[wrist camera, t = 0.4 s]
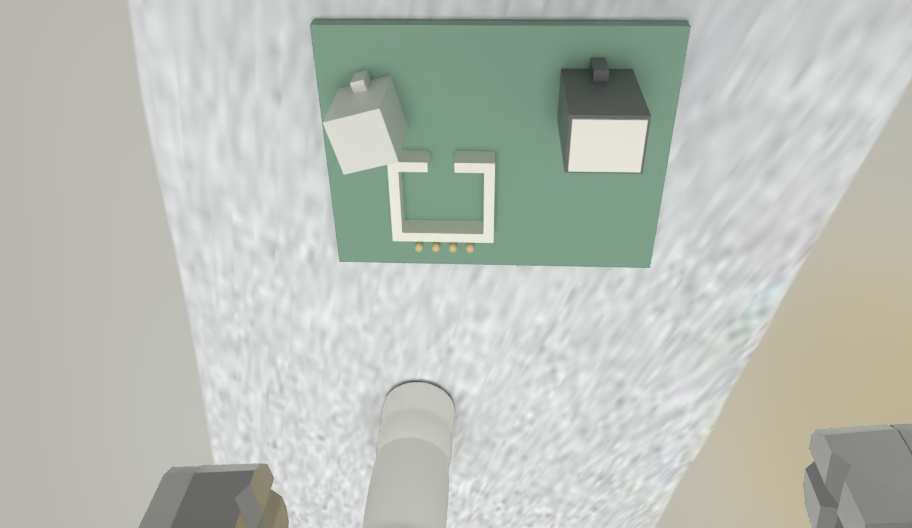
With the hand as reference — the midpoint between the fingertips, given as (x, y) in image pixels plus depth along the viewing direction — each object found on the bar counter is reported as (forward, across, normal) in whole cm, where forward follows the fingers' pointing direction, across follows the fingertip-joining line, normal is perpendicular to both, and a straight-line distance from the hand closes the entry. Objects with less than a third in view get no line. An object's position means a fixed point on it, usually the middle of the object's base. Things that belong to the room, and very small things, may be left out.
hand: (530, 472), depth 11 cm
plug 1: (+44, +11, +11) cm, 46 cm away
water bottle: (+45, +14, +43) cm, 64 cm away
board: (+45, +3, +16) cm, 48 cm away
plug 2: (+44, -5, +12) cm, 46 cm away
